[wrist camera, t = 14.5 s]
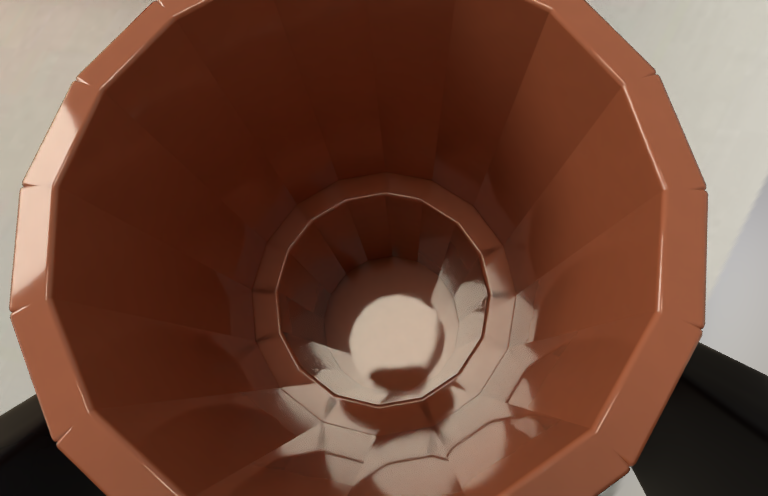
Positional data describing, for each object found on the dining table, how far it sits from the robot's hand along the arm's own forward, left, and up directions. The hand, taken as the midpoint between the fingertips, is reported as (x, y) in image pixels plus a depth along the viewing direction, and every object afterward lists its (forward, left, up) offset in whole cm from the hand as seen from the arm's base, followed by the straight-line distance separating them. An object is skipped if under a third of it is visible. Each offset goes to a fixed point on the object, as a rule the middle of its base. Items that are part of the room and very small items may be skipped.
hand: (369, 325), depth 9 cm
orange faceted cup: (+1, -1, -8) cm, 8 cm away
